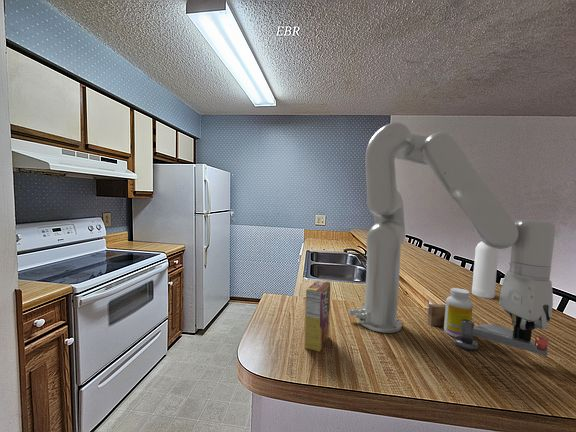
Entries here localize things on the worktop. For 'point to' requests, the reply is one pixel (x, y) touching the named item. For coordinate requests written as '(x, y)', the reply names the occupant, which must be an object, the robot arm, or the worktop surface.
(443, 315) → the wooden plank block
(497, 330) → the coaster
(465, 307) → the supplement bottle
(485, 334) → the lever
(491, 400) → the worktop surface
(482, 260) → the bottle
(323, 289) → the candy box
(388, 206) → the robot arm
